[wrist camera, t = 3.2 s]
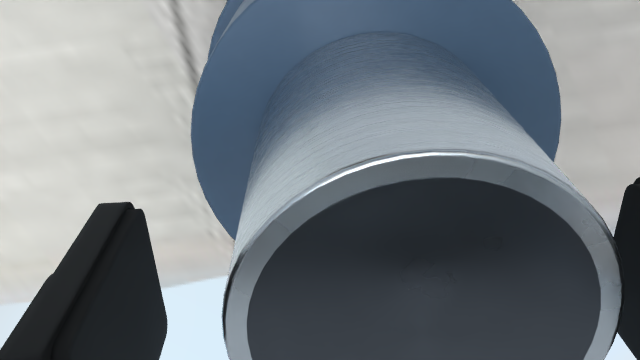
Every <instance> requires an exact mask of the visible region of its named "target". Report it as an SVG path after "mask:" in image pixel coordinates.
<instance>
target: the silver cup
mask: <svg viewBox="0 0 640 360" xmlns="http://www.w3.org/2000/svg"><path fill="white" fill-rule="evenodd" d="M624 288H625V281H624V274H623V268H622V262H621V257H620V254H619V251H618V248H617V246H616V243H615V240H614V237H613V236H612V234H611V232H610V230H609V229H608V227H607V225H606V223H605V222H604V220H603V218H602V217H601V216H600V215H599V214H598V212H597V211H596V210H595V209H594V208H593V206H592V205H591V204H590V203H589V202H588V200H587V199H586V198H585V197H584V196H583V195H582V194H581V193H580V191H579V190H578V189H577V188H576V187H575V186H574V185H573V184H572V182H571V181H570V180H569V179H568V178H567V177H566V176H565V175H564V174H563V172H562V171H561V170H560V169H559V168H558V167H557V166H556V165H555V164H554V162H553V161H552V160H551V159H550V158H549V157H548V156H547V155H546V153H545V152H544V151H543V150H542V149H541V148H540V147H539V146H538V145H537V143H536V142H535V141H534V140H533V139H532V138H531V137H530V136H529V135H528V133H527V132H526V131H525V130H524V129H523V128H522V127H521V126H520V124H519V123H518V122H517V121H516V120H515V119H514V118H513V117H512V116H511V114H510V113H509V112H508V111H507V110H506V109H505V108H504V107H503V106H502V104H501V103H500V102H499V101H498V100H497V99H496V98H495V97H494V96H493V94H492V93H491V92H490V91H489V90H488V89H487V88H486V87H485V85H484V84H483V83H482V82H481V81H480V80H479V79H478V78H477V77H476V75H475V74H474V73H473V72H472V71H471V70H470V69H469V68H468V67H467V66H466V65H465V64H464V63H463V62H462V61H461V60H460V59H459V58H457V57H456V56H455V55H453V54H452V53H450V52H449V51H447V50H446V49H444V48H443V47H441V46H439V45H437V44H434V43H432V42H430V41H428V40H425V39H422V38H418V37H415V36H412V35H406V34H399V33H385V32H376V33H367V34H359V35H355V36H351V37H347V38H343V39H340V40H338V41H335V42H333V43H330V44H327V45H326V46H324V47H322V48H320V49H318V50H316V51H315V52H313V53H311V54H310V55H309V56H307V57H306V58H304V59H303V60H302V61H300V62H299V63H298V64H297V65H296V66H295V67H294V68H293V69H292V70H291V71H289V72H288V73H287V74H286V76H285V77H284V78H283V79H282V81H281V82H280V83H279V85H278V86H277V87H276V89H275V91H274V92H273V94H272V96H271V97H270V99H269V101H268V103H267V106H266V108H265V110H264V113H263V116H262V120H261V123H260V127H259V132H258V136H257V141H256V146H255V151H254V155H253V160H252V165H251V170H250V174H249V179H248V184H247V189H246V193H245V198H244V203H243V207H242V212H241V217H240V222H239V226H238V231H237V236H236V241H235V245H234V250H233V255H232V260H231V264H230V269H229V274H228V278H227V283H226V288H225V293H224V299H223V310H222V325H223V337H224V342H225V345H226V349H227V354H228V357H229V359H230V360H604V359H605V357H606V355H607V353H608V351H609V350H610V348H611V346H612V344H613V342H614V339H615V336H616V334H617V331H618V328H619V325H620V322H621V317H622V312H623V306H624Z"/></svg>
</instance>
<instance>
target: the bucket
mask: <svg viewBox="0 0 640 360" xmlns="http://www.w3.org/2000/svg"><path fill="white" fill-rule="evenodd" d="M376 32H385V33H399V34H406V35H412V36H415V37H418V38H422V39H425V40H428V41H430V42H432V43H434V44H437V45H439V46H441V47H443V48H444V49H446V50H447V51H449V52H450V53H452V54H453V55H455V56H456V57H457V58H459V59H460V60H461V61H462V62H463V63H464V64H465V65H466V66H467V67H468V68H469V69H470V70H471V71H472V72H473V73H474V74H475V75H476V77H477V78H478V79H479V80H480V81H481V82H482V83H483V84H484V85H485V87H486V88H487V89H488V90H489V91H490V92H491V93H492V94H493V96H494V97H495V98H496V99H497V100H498V101H499V102H500V103H501V104H502V106H503V107H504V108H505V109H506V110H507V111H508V112H509V113H510V114H511V116H512V117H513V118H514V119H515V120H516V121H517V122H518V123H519V124H520V126H521V127H522V128H523V129H524V130H525V131H526V132H527V133H528V135H529V136H530V137H531V138H532V139H533V140H534V141H535V142H536V143H537V145H538V146H539V147H540V148H541V149H542V150H543V151H544V152H545V153H546V155H547V156H548V157H549V158H550V159H551V160H552V161H553V162H554V159H555V155H556V151H557V147H558V143H559V134H560V125H561V105H560V93H559V87H558V82H557V77H556V72H555V69H554V67H553V64H552V61H551V58H550V55H549V52H548V50H547V48H546V46H545V45H544V43H543V41H542V39H541V37H540V35H539V33H538V31H537V30H536V28H535V27H534V26H533V24H532V23H531V22H530V20H529V19H528V18H527V16H526V15H525V14H524V13H523V11H522V10H521V9H520V8H519V7H518V6H517V5H516V4H515V3H514V2H513V1H512V0H227V2H226V5H225V7H224V9H223V11H222V13H221V15H220V17H219V19H218V22H217V25H216V28H215V30H214V33H213V36H212V40H211V45H210V50H209V54H208V61H207V63H206V65H205V67H204V70H203V73H202V75H201V78H200V81H199V84H198V87H197V90H196V95H195V100H194V105H193V110H192V122H191V142H192V154H193V160H194V164H195V168H196V173H197V177H198V180H199V182H200V185H201V188H202V190H203V193H204V195H205V198H206V200H207V201H208V203H209V205H210V207H211V209H212V211H213V212H214V214H215V216H216V217H217V219H218V220H219V222H220V223H221V224H222V226H223V227H224V228H225V230H226V231H227V232H228V234H229V235H230V236H231V237H232V238H233V239H234V240H235V241H236V236H237V231H238V226H239V222H240V217H241V212H242V207H243V203H244V198H245V193H246V189H247V184H248V179H249V174H250V170H251V165H252V160H253V155H254V151H255V146H256V141H257V136H258V132H259V127H260V123H261V120H262V116H263V113H264V110H265V108H266V106H267V103H268V101H269V99H270V97H271V96H272V94H273V92H274V91H275V89H276V87H277V86H278V85H279V83H280V82H281V81H282V79H283V78H284V77H285V76H286V74H287V73H288V72H289V71H291V70H292V69H293V68H294V67H295V66H296V65H297V64H298V63H299V62H300V61H302V60H303V59H304V58H306V57H307V56H309V55H310V54H311V53H313V52H315V51H316V50H318V49H320V48H322V47H324V46H326V45H327V44H330V43H333V42H335V41H338V40H340V39H343V38H347V37H351V36H355V35H359V34H367V33H376Z"/></svg>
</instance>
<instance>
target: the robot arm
mask: <svg viewBox="0 0 640 360" xmlns="http://www.w3.org/2000/svg"><path fill="white" fill-rule="evenodd" d="M614 240H615V243H616V246H617V248H618V251H619V254H620V257H621V262H622V268H623V274H624V281H625V288H624V306H623V312H622V317H621V322H620V325H619V328H618V331H617V332H618V334H619V335H620V337H621V338H622V339H623V341H624V342H625V344H626V345H627V346H628V348H629V349H630V350H631V352H632V353H633V355H634V356H635V357H636V358H637V360H640V177H639V178H637V179H636V180H635V182H634V184H631V185H629V186H628V187H627V188H626V190H625V193H624V197H623V201H622V205H621V209H620V213H619V217H618V221H617V226H616V230H615V234H614ZM166 334H167V315H166V311H165V306H164V302H163V297H162V292H161V288H160V283H159V279H158V274H157V269H156V265H155V260H154V255H153V251H152V246H151V242H150V237H149V232H148V228H147V223H146V219H145V215H144V212H143V210H142V209H135V208H134V206H133V204H132V203H131V202H120V203H101V204H99V205H98V206H97V207H96V209H95V210H94V212H93V213H92V215H91V216H90V218H89V219H88V221H87V222H86V224H85V226H84V227H83V229H82V230H81V232H80V233H79V235H78V236H77V238H76V239H75V241H74V243H73V244H72V246H71V247H70V249H69V250H68V252H67V253H66V255H65V256H64V258H63V259H62V261H61V263H60V264H59V266H58V267H57V269H56V270H55V272H54V273H53V274H51V275H50V276H49V277H48V279H47V280H46V281H45V283H44V284H43V286H42V287H41V289H40V290H39V292H38V293H37V295H36V296H35V298H34V299H33V301H32V302H31V304H30V305H29V307H28V309H27V310H26V312H25V313H24V315H23V316H22V318H21V319H20V321H19V322H18V324H17V325H16V327H15V328H14V330H13V331H12V333H11V334H10V336H9V338H8V339H7V341H6V342H5V344H4V345H3V347H2V348H1V350H0V360H159V358H160V355H161V351H162V348H163V344H164V341H165V338H166Z"/></svg>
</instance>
